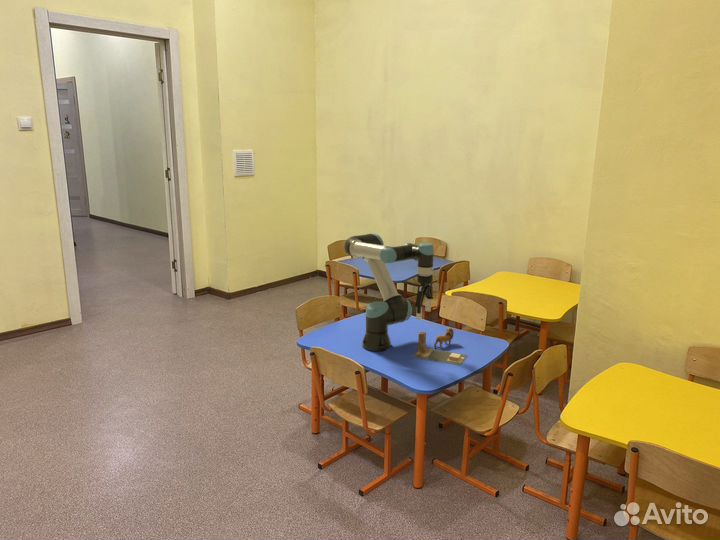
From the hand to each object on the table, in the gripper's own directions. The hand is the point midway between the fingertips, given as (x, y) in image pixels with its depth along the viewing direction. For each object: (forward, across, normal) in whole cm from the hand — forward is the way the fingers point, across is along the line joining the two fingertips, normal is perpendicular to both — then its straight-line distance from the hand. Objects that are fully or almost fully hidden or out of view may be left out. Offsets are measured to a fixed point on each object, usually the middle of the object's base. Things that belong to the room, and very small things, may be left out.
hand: (423, 315), depth 270 cm
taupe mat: (+21, 0, -10) cm, 23 cm away
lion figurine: (+21, +15, -7) cm, 27 cm away
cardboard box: (+20, 0, -1) cm, 20 cm away
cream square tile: (+20, 0, -17) cm, 27 cm away
